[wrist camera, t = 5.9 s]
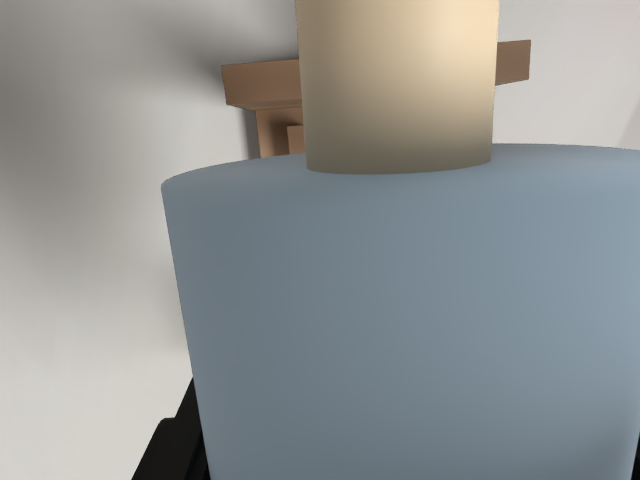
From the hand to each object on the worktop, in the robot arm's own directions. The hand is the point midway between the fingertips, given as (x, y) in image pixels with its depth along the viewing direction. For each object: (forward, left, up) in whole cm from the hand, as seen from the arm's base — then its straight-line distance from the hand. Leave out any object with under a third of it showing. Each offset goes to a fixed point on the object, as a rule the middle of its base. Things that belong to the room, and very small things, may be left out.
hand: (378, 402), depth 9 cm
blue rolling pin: (0, 0, -1) cm, 1 cm away
